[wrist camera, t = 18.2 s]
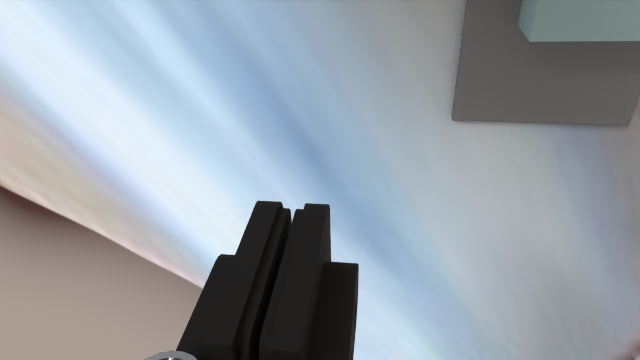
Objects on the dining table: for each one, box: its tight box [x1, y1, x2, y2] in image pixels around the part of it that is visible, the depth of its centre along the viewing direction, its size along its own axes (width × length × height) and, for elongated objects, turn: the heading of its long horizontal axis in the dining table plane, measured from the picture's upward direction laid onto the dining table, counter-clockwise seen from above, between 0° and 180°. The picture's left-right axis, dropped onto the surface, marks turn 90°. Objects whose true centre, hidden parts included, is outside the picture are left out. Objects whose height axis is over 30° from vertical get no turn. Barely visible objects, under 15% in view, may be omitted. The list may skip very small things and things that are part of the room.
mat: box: [452, 0, 640, 126], centre depth 29 cm, size 12×11×1 cm
